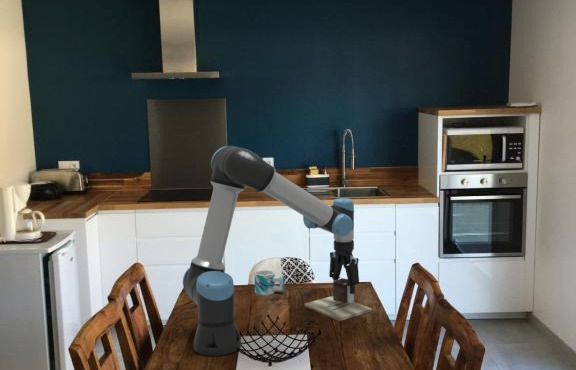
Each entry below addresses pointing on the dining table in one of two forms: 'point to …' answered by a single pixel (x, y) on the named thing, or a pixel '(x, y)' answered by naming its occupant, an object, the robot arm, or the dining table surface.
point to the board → (337, 308)
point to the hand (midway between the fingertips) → (344, 298)
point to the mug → (267, 282)
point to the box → (340, 290)
